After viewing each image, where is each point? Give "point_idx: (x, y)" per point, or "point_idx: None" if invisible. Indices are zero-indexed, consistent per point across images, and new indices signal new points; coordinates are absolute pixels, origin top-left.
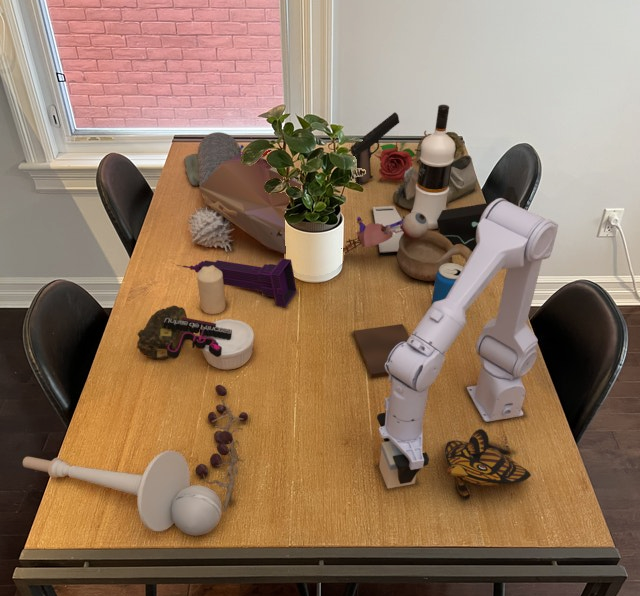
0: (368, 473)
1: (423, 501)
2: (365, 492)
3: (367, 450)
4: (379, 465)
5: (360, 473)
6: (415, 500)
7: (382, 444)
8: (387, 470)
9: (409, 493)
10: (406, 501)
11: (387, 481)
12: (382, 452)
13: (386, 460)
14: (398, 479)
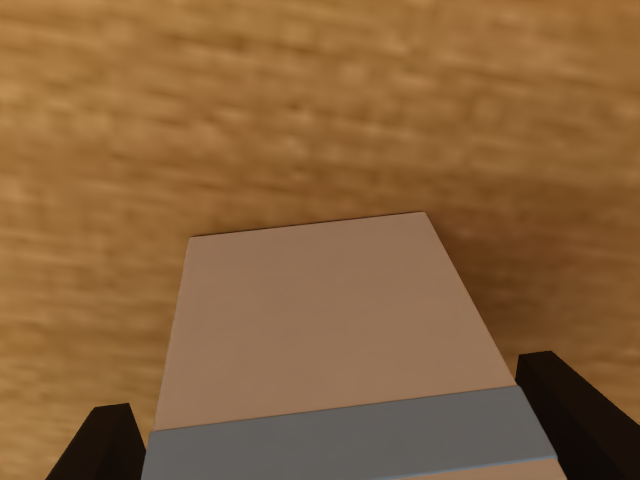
0: (375, 112)
1: (74, 427)
2: (149, 43)
3: (624, 147)
4: (424, 223)
5: (390, 36)
6: (79, 389)
7: (533, 475)
8: (229, 356)
9: (142, 365)
10: (65, 340)
11: (198, 278)
12: (454, 381)
13: (294, 430)
14: (123, 415)
